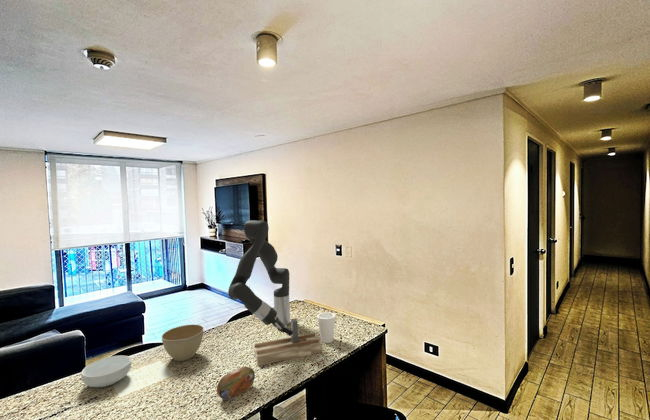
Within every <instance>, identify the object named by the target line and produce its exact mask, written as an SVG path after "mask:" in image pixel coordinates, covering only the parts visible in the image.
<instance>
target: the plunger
mask: <svg viewBox="0 0 650 420" xmlns="http://www.w3.org/2000/svg"><path fill="white" fill-rule="evenodd" d="M298 324H299V323H298V319H297V318H290V325H291V326H290V330H291V331H292V335H291V336H290V337H291V342H292V343H298V342H299V337H298V336H299V327H298Z"/></svg>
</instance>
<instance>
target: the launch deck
mask: <svg viewBox="0 0 650 420" xmlns="http://www.w3.org/2000/svg"><path fill="white" fill-rule="evenodd" d="M298 337H299V342H298V343H292V342H291V336H289V337H284V338H280V339H279V338H278V339H274V340H269V341H268V340H267V341H263V342H262V341H261V342H258V343H254V348H253V349H254V351H253V352H254V356H255V361H256V363H257V364H256V365H257V366H263V365H266V364H267V365H268V364H271V363H272V364H273V363H276V362H281V361H282V362H283V361H285V360H286V361H287V360H290V359H297V358H301V357H305V356H310V355H315V354H321V353H322V344H321V342H320V341H321V338H317V337H316V333H315V332H312V333H307V334H301V335H298ZM302 341H303V342H302Z"/></svg>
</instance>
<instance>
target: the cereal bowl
mask: <svg viewBox="0 0 650 420" xmlns="http://www.w3.org/2000/svg"><path fill="white" fill-rule="evenodd" d="M131 368H132V357H130V356H128V355H122V354H121V355H113V356H108V357H104V358H101V359H98V360H96V361H93V362H91V363H90V364H87V365H86V366H85V367H84V368H83V369H82V371H81V373H80V374H81V380H82V382H83V384H85V385H86V386H87V387H90V388H91V387H92V388H103V387H105V388H106V387H109V386H111V385H114V384H115V383H117V382H119V381H120V380H122V379H123V378H125V376H126V375H127V374H128V373H129V372H130V370H131Z"/></svg>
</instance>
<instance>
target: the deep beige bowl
mask: <svg viewBox="0 0 650 420" xmlns="http://www.w3.org/2000/svg"><path fill="white" fill-rule="evenodd" d="M203 336H204V327H203V325H201V324H185V325H180V326H176V327H173V328H171V329H168V330H167V331H165V332H164V333H163V334H162V335H161V342H162V344H163V347H164V350H165V351H166V353H167V354H168V355H169V356H170V358H171V359H173V360H175V361H176V362H184V361H189V360H190V359H191V358H193V357H194V356H195V355H196V353H197V352H198V350H199V348H200V346H201V344H202V340H203V338H204V337H203Z"/></svg>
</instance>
